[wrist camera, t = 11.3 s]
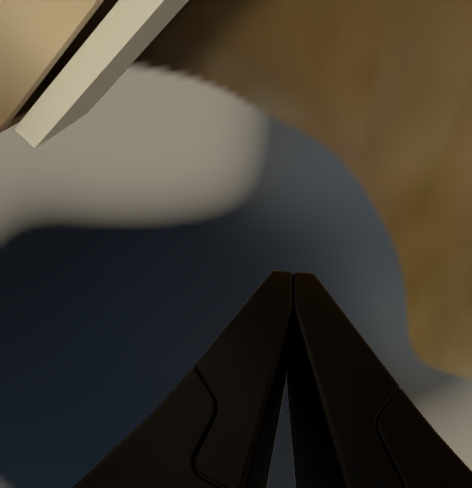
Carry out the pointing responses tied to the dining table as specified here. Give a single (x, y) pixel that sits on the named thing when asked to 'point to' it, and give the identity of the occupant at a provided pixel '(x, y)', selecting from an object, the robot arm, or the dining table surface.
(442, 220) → the dining table surface
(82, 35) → the cabinet
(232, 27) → the dining table surface
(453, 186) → the dining table surface
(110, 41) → the white flat slab piece
